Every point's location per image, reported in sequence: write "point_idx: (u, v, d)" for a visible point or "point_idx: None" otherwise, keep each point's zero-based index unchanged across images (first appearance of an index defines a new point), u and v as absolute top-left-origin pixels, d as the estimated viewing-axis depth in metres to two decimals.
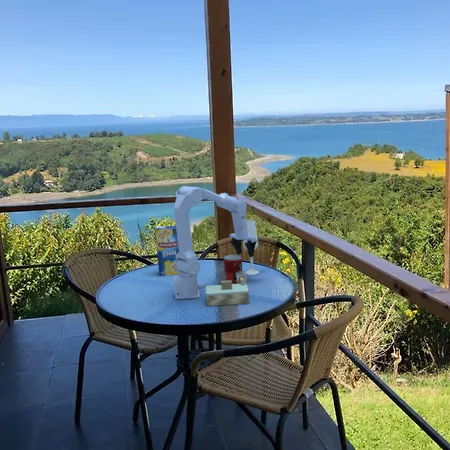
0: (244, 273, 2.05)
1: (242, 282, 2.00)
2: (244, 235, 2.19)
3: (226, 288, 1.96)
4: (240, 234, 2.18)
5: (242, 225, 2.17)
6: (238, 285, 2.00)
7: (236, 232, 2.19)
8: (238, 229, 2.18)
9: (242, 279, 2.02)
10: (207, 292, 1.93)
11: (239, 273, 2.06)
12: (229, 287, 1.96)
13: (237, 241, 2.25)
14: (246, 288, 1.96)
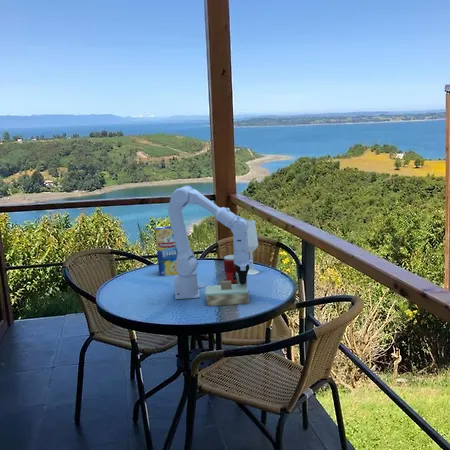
0: None
1: None
2: (239, 260, 1.96)
3: (226, 288, 1.96)
4: (235, 258, 1.96)
5: (236, 249, 1.95)
6: (238, 285, 2.00)
7: (234, 255, 1.98)
8: (234, 252, 1.96)
9: None
10: (207, 292, 1.93)
11: None
12: (229, 287, 1.96)
13: None
14: (246, 288, 1.95)
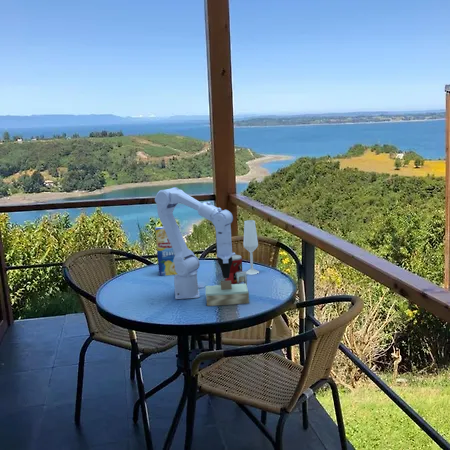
0: (244, 273, 2.05)
1: (241, 279, 2.03)
2: (222, 253, 1.92)
3: (226, 288, 1.96)
4: (218, 251, 1.93)
5: (218, 241, 1.92)
6: (238, 285, 2.00)
7: (217, 248, 1.94)
8: (217, 245, 1.92)
9: None
10: (207, 292, 1.93)
11: (239, 273, 2.06)
12: (229, 287, 1.96)
13: None
14: (246, 288, 1.95)
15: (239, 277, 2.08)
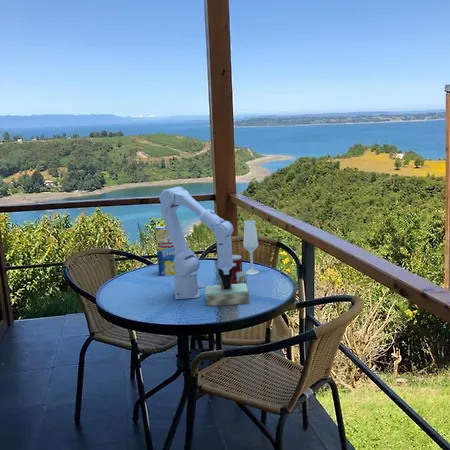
0: (244, 273, 2.05)
1: (241, 279, 2.03)
2: (222, 264, 1.92)
3: None
4: (219, 262, 1.93)
5: (218, 252, 1.93)
6: (237, 285, 2.00)
7: None
8: (218, 256, 1.93)
9: None
10: (207, 292, 1.93)
11: (239, 273, 2.06)
12: None
13: None
14: (246, 288, 1.96)
15: (239, 277, 2.08)
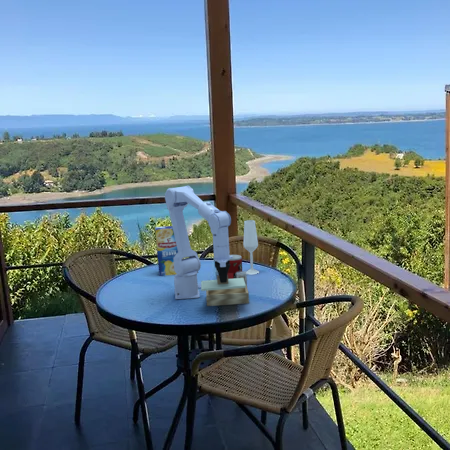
0: (244, 273, 2.05)
1: None
2: (219, 256, 1.83)
3: (222, 283, 1.87)
4: (215, 254, 1.84)
5: (213, 243, 1.84)
6: (234, 279, 1.91)
7: None
8: (214, 247, 1.84)
9: None
10: (202, 287, 1.84)
11: (239, 273, 2.06)
12: None
13: None
14: (243, 282, 1.87)
15: (239, 277, 2.08)
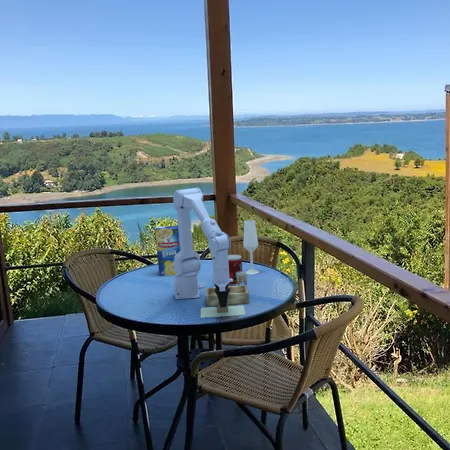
0: (244, 273, 2.05)
1: (241, 279, 2.03)
2: (218, 280, 1.81)
3: (222, 311, 1.85)
4: (215, 277, 1.82)
5: None
6: (235, 307, 1.89)
7: (213, 273, 1.83)
8: (214, 271, 1.82)
9: None
10: (202, 315, 1.82)
11: (239, 273, 2.06)
12: (225, 310, 1.85)
13: None
14: (243, 311, 1.85)
15: (239, 277, 2.08)
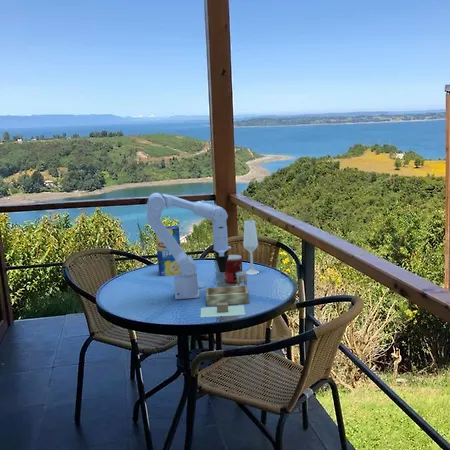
0: (244, 273, 2.05)
1: (241, 279, 2.03)
2: (218, 247, 2.02)
3: (222, 311, 1.85)
4: (215, 245, 2.03)
5: (218, 236, 2.02)
6: (235, 307, 1.89)
7: None
8: (214, 239, 2.03)
9: None
10: (202, 315, 1.82)
11: (239, 273, 2.06)
12: (225, 310, 1.85)
13: None
14: (243, 311, 1.84)
15: (239, 277, 2.08)
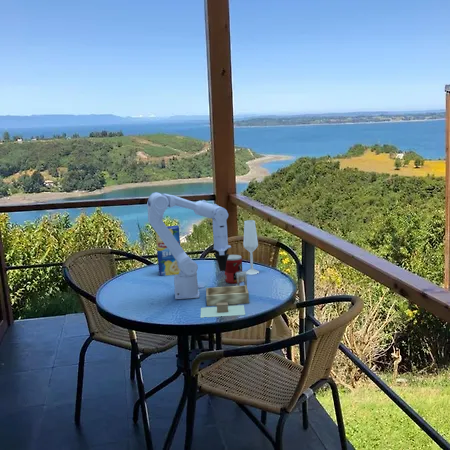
0: (244, 273, 2.05)
1: (241, 279, 2.03)
2: (218, 246, 2.04)
3: (222, 311, 1.85)
4: (215, 244, 2.05)
5: (219, 235, 2.03)
6: (235, 307, 1.89)
7: None
8: (214, 238, 2.05)
9: None
10: (201, 315, 1.82)
11: (239, 273, 2.06)
12: (225, 310, 1.85)
13: None
14: (243, 311, 1.84)
15: (239, 277, 2.08)
